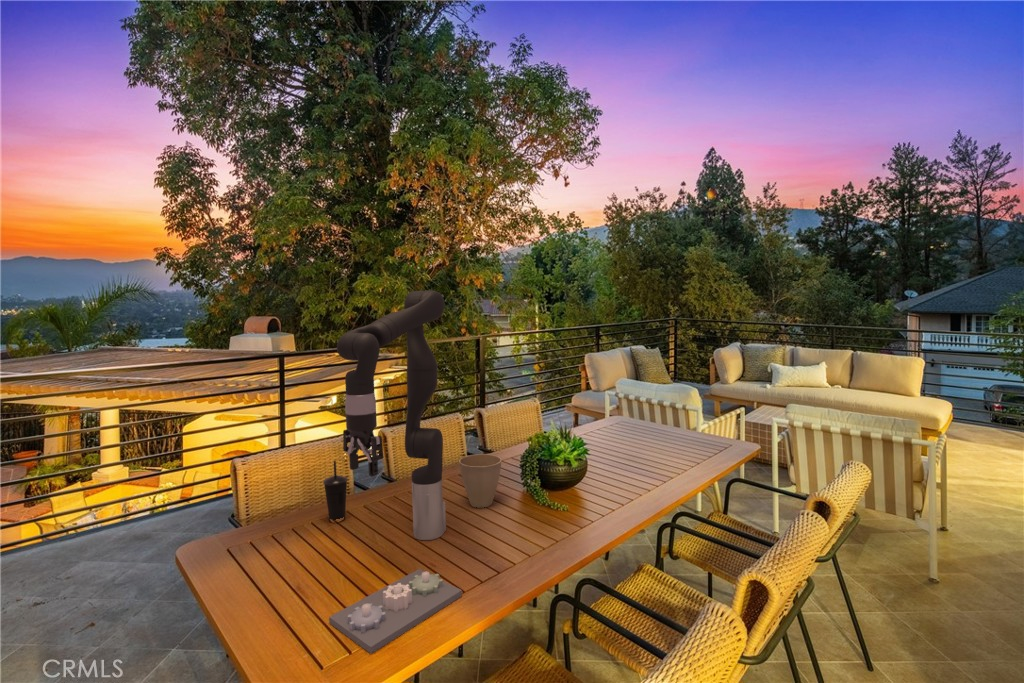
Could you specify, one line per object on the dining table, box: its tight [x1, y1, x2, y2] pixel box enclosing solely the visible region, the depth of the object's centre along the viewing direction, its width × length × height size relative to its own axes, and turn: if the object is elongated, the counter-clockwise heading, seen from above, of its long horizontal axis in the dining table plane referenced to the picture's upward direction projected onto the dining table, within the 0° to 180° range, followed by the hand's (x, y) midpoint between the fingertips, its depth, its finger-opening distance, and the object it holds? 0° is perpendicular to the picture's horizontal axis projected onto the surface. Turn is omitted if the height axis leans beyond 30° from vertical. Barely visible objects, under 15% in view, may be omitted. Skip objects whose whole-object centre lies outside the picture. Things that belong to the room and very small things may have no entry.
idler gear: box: [383, 583, 412, 612], centre depth 119 cm, size 6×6×3 cm
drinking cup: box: [322, 460, 349, 520], centre depth 168 cm, size 8×8×20 cm
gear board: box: [328, 568, 463, 655], centre depth 119 cm, size 26×16×5 cm, turn 140°
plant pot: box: [458, 453, 503, 509], centre depth 179 cm, size 15×15×16 cm
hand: (363, 472), depth 131 cm, fingers open, 8 cm apart
